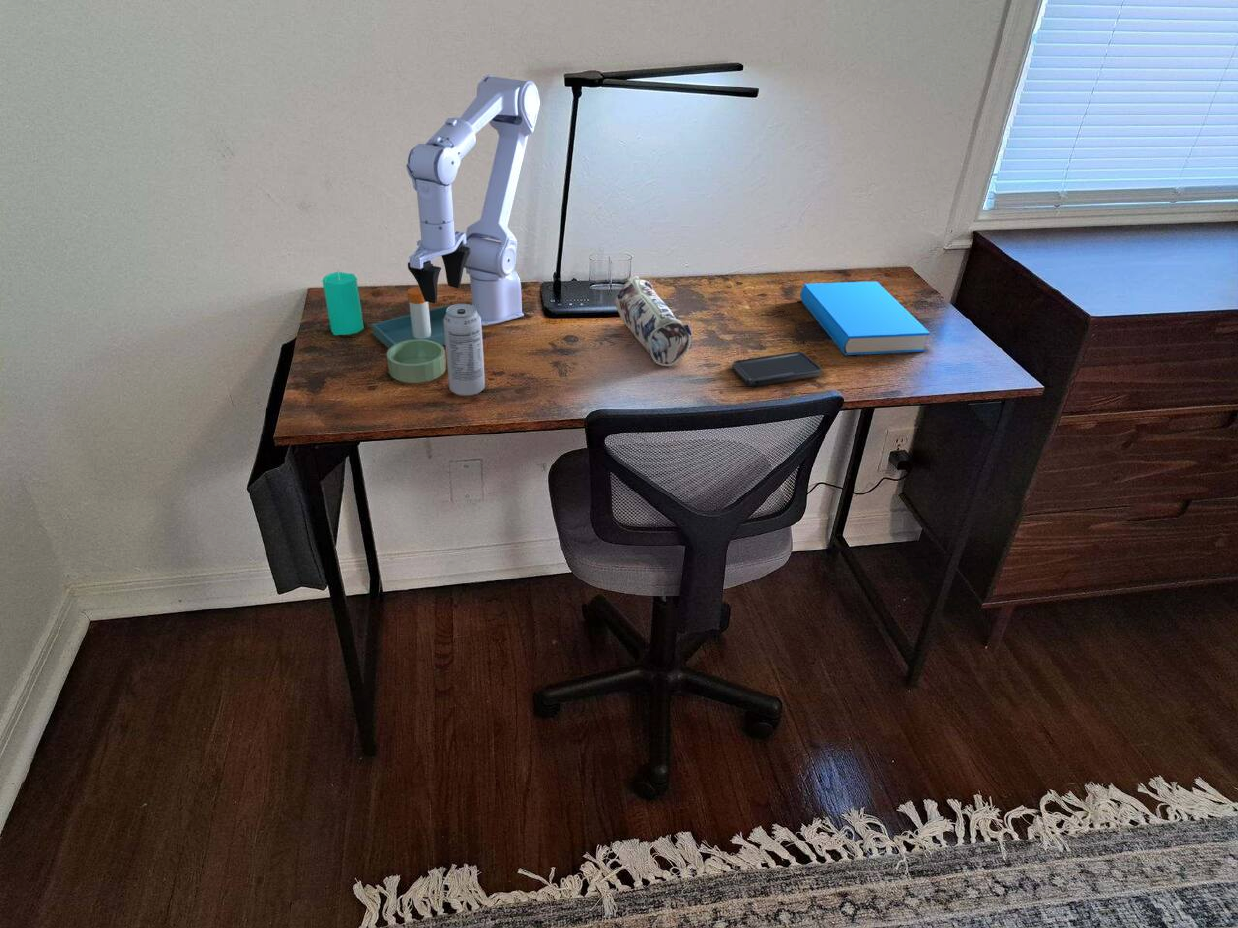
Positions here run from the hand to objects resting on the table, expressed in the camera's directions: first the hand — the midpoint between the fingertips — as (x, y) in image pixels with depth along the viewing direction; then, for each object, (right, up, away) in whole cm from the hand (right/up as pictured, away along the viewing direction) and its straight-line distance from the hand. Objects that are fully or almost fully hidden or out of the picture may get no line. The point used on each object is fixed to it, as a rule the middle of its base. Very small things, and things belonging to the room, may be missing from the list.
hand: (442, 294), depth 150 cm
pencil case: (+38, -7, +11) cm, 40 cm away
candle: (-20, -5, +10) cm, 23 cm away
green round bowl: (-4, -14, -2) cm, 15 cm away
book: (+80, -2, +20) cm, 83 cm away
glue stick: (-6, -6, +8) cm, 12 cm away
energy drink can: (+6, -18, -7) cm, 20 cm away
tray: (-5, -6, +9) cm, 12 cm away
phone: (+60, -14, +2) cm, 62 cm away
